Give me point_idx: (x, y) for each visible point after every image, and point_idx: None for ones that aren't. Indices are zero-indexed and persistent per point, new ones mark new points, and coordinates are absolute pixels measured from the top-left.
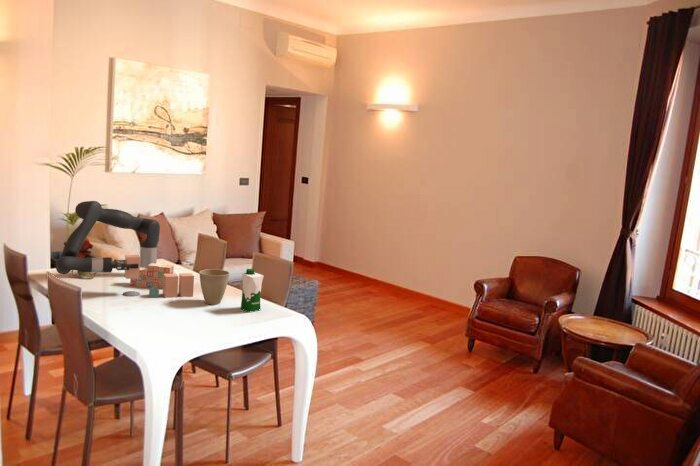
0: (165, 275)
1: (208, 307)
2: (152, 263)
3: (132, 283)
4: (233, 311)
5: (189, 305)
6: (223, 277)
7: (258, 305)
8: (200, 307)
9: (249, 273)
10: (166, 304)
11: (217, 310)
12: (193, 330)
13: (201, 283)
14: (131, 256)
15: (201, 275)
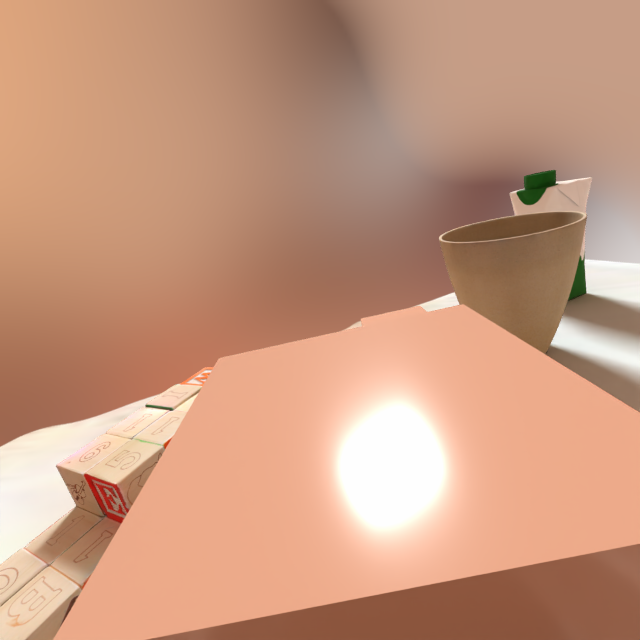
0: None
1: (597, 349)
2: (72, 458)
3: None
4: (603, 309)
5: (611, 393)
6: (550, 220)
7: None
8: (618, 364)
9: (555, 180)
10: None
11: (623, 331)
12: None
13: (553, 279)
14: (437, 405)
15: (566, 235)
